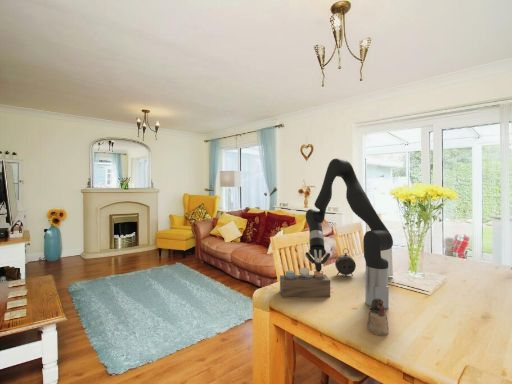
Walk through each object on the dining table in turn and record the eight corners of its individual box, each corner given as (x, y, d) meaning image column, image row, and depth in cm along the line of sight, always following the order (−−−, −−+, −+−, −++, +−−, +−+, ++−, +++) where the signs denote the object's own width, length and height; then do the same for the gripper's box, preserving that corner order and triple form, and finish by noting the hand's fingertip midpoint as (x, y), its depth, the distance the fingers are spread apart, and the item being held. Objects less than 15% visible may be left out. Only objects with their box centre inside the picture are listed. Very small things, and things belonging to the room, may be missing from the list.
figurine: (382, 325, 103) (382, 294, 103) (392, 335, 96) (392, 302, 96) (364, 325, 103) (364, 294, 102) (372, 336, 96) (372, 302, 95)
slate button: (295, 278, 130) (295, 273, 130) (286, 278, 130) (286, 273, 130) (293, 275, 134) (293, 270, 134) (285, 275, 134) (285, 270, 134)
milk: (388, 271, 166) (389, 229, 165) (392, 277, 155) (393, 232, 154) (367, 269, 169) (368, 228, 168) (370, 275, 158) (370, 231, 157)
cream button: (310, 275, 130) (310, 270, 130) (301, 275, 130) (301, 270, 130) (307, 272, 134) (307, 267, 134) (299, 272, 134) (299, 267, 134)
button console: (330, 296, 129) (330, 279, 129) (282, 297, 128) (282, 280, 128) (325, 290, 137) (325, 273, 137) (280, 291, 136) (280, 274, 136)
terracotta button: (324, 278, 130) (324, 273, 130) (315, 278, 130) (315, 273, 130) (321, 275, 135) (321, 270, 135) (313, 275, 135) (313, 270, 135)
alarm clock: (353, 274, 160) (354, 247, 159) (356, 277, 155) (356, 249, 154) (334, 274, 161) (335, 247, 160) (336, 277, 156) (336, 249, 155)
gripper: (304, 236, 142) (305, 266, 131) (330, 237, 141) (333, 267, 129) (303, 244, 148) (304, 273, 136) (328, 245, 146) (331, 274, 134)
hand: (318, 270), depth 133 cm, fingers closed
